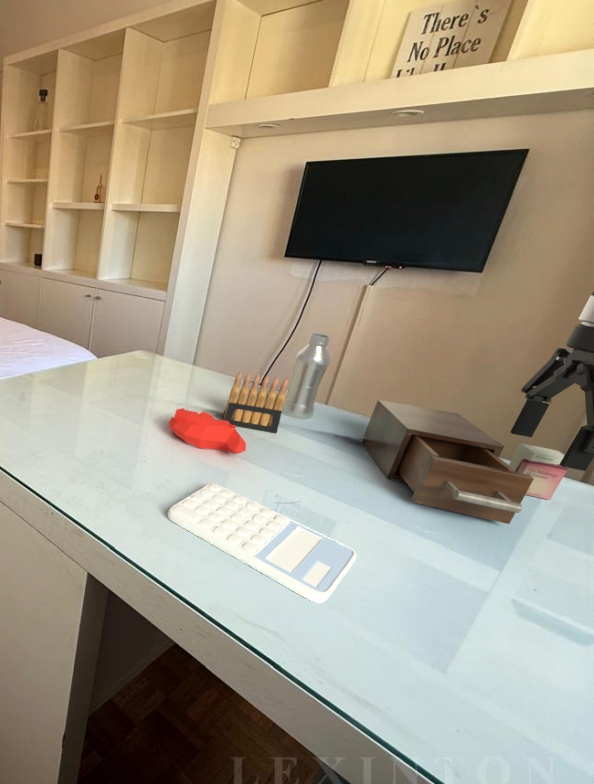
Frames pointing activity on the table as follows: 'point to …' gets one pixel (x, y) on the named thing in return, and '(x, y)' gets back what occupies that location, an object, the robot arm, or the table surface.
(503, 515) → the drawer
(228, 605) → the table surface
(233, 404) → the ammunition clip
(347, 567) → the calculator
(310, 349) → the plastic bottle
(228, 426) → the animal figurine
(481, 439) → the cabinet
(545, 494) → the small box
